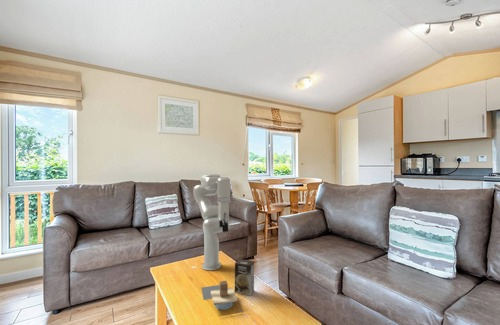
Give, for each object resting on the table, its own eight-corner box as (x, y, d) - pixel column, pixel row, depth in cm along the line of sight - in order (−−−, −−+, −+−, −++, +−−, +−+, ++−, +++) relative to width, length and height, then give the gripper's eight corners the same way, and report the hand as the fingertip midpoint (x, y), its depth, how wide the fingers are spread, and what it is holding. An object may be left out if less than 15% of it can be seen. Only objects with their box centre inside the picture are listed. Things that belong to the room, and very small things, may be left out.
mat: (201, 288, 128) (201, 287, 128) (223, 285, 132) (223, 284, 132) (203, 301, 117) (203, 299, 117) (227, 297, 120) (227, 295, 120)
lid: (210, 292, 117) (210, 278, 117) (232, 289, 121) (232, 275, 121) (213, 305, 107) (213, 290, 107) (237, 301, 110) (237, 286, 110)
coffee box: (234, 293, 123) (234, 263, 123) (238, 287, 130) (238, 258, 130) (250, 297, 120) (250, 265, 120) (254, 290, 126) (254, 260, 126)
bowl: (213, 301, 117) (213, 293, 117) (230, 298, 119) (230, 290, 119) (215, 312, 108) (215, 303, 108) (235, 308, 111) (235, 300, 111)
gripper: (215, 197, 143) (214, 225, 143) (219, 202, 127) (219, 234, 127) (227, 197, 145) (227, 224, 145) (233, 201, 129) (233, 232, 129)
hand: (223, 229), depth 136 cm, fingers open, 9 cm apart
